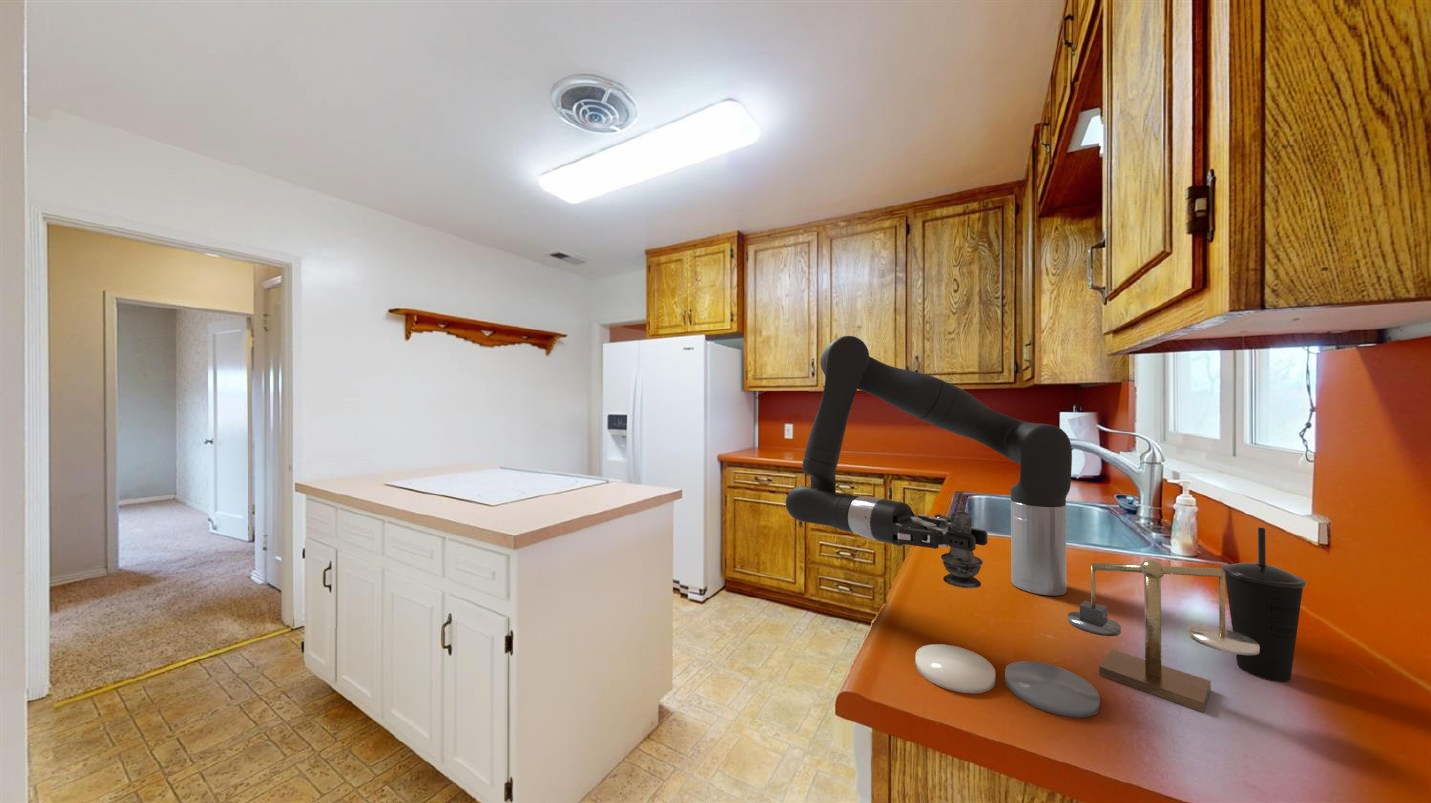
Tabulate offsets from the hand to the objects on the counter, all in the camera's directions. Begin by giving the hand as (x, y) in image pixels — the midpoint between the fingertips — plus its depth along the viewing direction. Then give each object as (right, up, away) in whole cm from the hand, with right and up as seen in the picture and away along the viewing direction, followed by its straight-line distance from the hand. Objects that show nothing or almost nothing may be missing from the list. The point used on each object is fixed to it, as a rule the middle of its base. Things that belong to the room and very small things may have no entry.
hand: (980, 541), depth 71 cm
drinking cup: (+36, -16, -6) cm, 40 cm away
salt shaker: (-2, -7, +2) cm, 8 cm away
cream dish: (-7, -17, -6) cm, 19 cm away
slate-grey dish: (+3, -17, -10) cm, 20 cm away
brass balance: (+18, -16, -9) cm, 26 cm away
